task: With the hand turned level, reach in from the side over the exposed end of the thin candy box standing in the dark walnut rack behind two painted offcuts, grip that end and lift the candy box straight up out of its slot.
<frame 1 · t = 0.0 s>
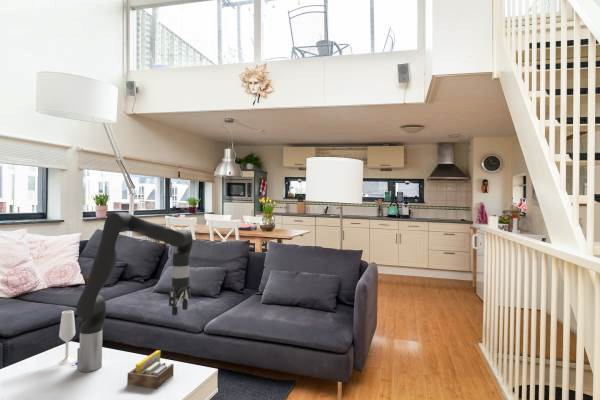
hand: (179, 312, 161), 29 cm above the table, tool pointing down, fingers open, 8 cm apart
slate offcut: (159, 381, 158), resting in offcut rack
offcut rack: (148, 375, 164), on the table
champagne flute: (66, 361, 176), on the table
sage offcut: (153, 379, 160), resting in offcut rack
candy box: (148, 375, 164), resting in offcut rack
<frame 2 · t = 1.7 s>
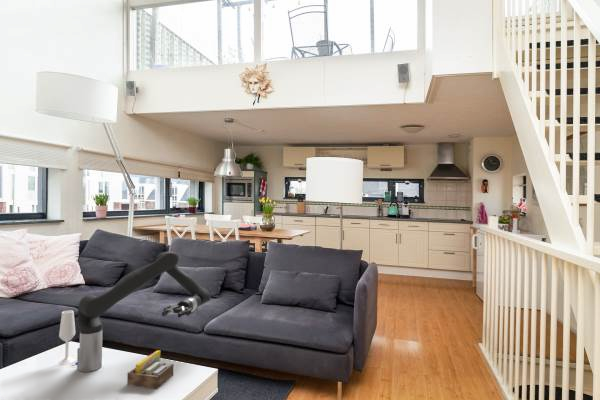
hand: (170, 315, 181), 22 cm above the table, tool horizontal, fingers open, 8 cm apart
nothing on the table moved.
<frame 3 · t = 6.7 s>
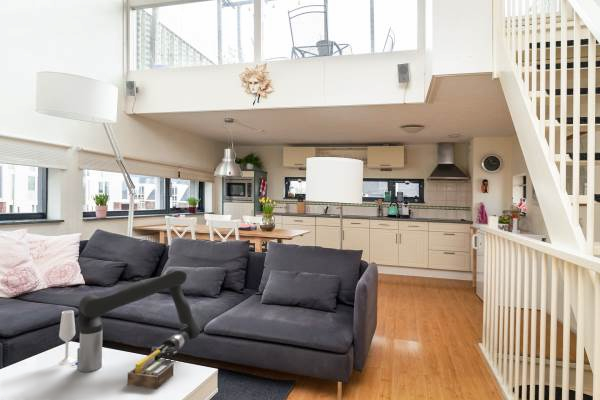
hand: (153, 358, 167), 6 cm above the table, tool horizontal, fingers closed on candy box, 2 cm apart
candy box: (147, 375, 164), resting in offcut rack, touching gripper
everything else where it was.
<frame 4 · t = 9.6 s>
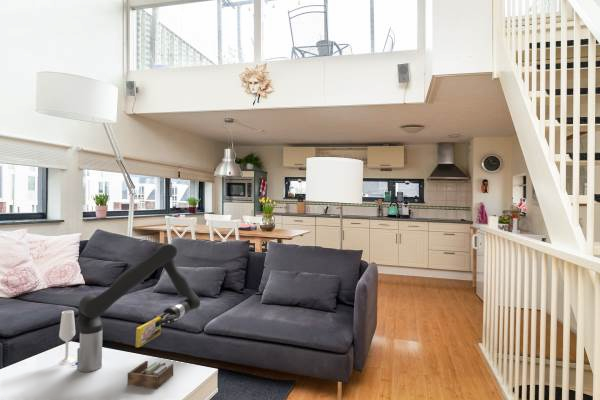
hand: (153, 324, 167), 22 cm above the table, tool horizontal, fingers closed on candy box
candy box: (148, 341, 164), point 15 cm above the table, touching gripper
everything else where it was.
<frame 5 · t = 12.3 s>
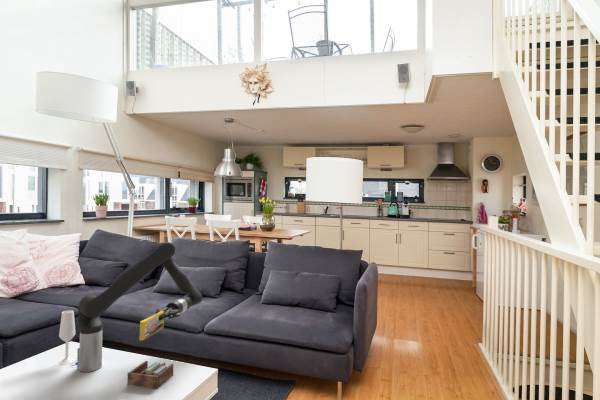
hand: (157, 318, 170), 24 cm above the table, tool horizontal, fingers closed on candy box
candy box: (152, 334, 166), point 17 cm above the table, touching gripper
everything else where it was.
at the end: candy box point 17.2 cm above the table; the gripper is holding candy box; sage offcut moved 0.1 cm from its start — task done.
